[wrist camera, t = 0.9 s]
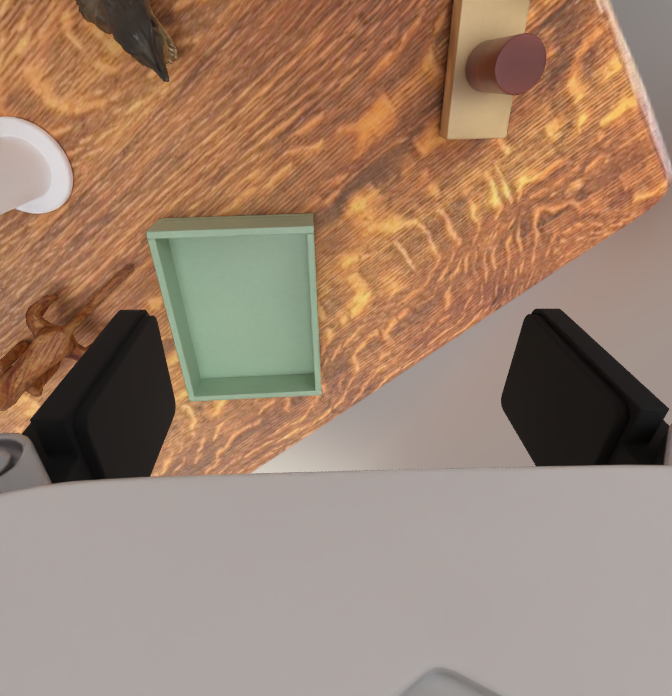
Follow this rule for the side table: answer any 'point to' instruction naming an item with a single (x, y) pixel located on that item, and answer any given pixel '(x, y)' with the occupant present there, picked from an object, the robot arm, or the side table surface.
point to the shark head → (133, 30)
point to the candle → (31, 168)
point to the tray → (241, 303)
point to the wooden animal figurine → (44, 348)
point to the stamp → (487, 67)
